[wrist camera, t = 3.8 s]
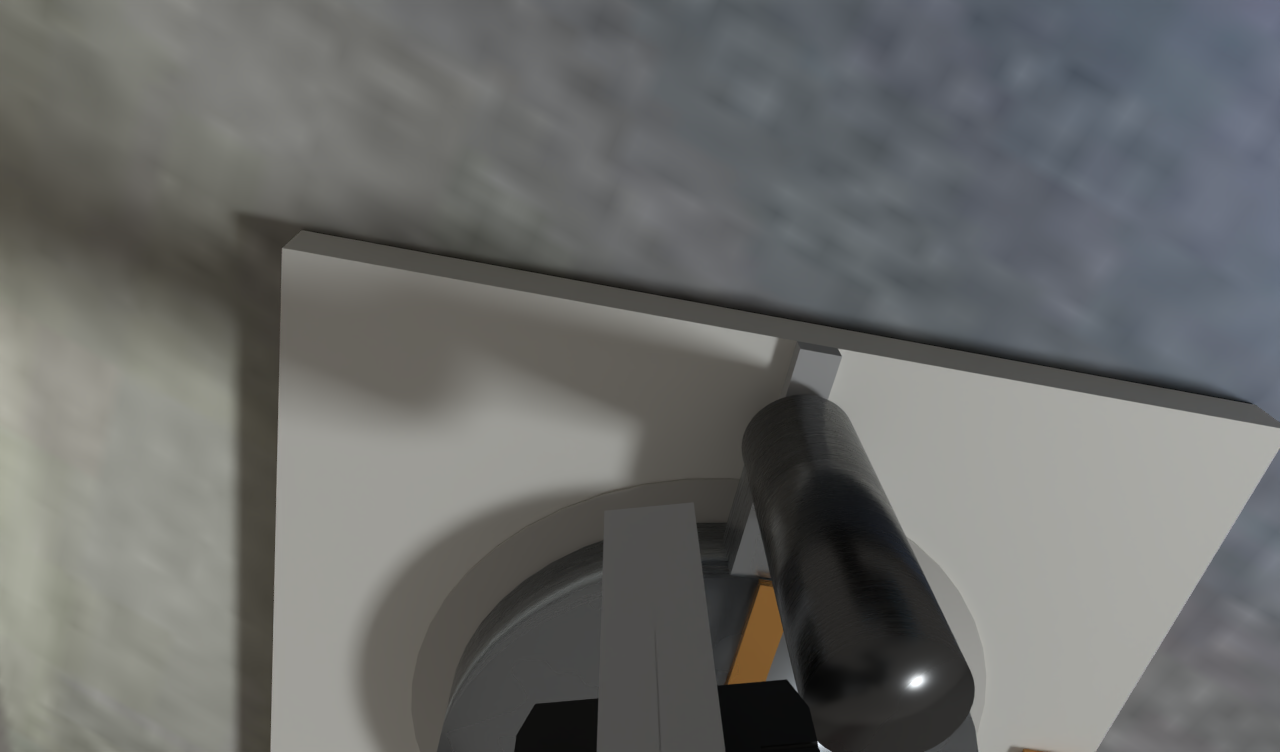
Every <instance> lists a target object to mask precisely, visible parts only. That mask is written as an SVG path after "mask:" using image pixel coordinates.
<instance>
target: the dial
mask: <svg viewBox="0 0 1280 752" xmlns="http://www.w3.org/2000/svg"><path fill="white" fill-rule="evenodd" d="M741 449H742V457H743V461H744V467H743V471H742V474H741V477H740V481H739V484H738V487H737V491H736V494H735V497H734V501H733V504H732V508H731V511H730V514H729V518H728V521H727V522H723V523H696V525H697V532H698V540H699V548H700V556H701V564H702V572H703V579H704V587H705V595H706V603H707V611H708V619H709V627H710V634H711V642H712V650H713V658H714V666H715V674H716V682H717V685H728V684H740V683H751V682H762V681H774V680H785V679H787V680H788V681H789V682H790V684H791V685H792V686H793V687H794V689H795V690H796V691H797V692H798V694H799V695H800V696H801V698H802V699H803V700H804V701H805V703H806V704H807V705H808V706H809V708H810V712H811V716H812V721H813V725H814V729H815V733H816V737H817V741H818V748H819V749H820V752H978V745H977V737H976V730H975V726H974V723H973V720H972V717H971V714H970V710H971V707H972V705H973V701H974V695H975V685H974V679H973V676H972V673H971V671H970V669H969V667H968V664H967V662H966V660H965V658H964V656H963V654H962V652H961V650H960V648H959V646H958V644H957V642H956V639H955V637H954V635H953V633H952V631H951V629H950V627H949V625H948V623H947V621H946V619H945V617H944V614H943V612H942V610H941V608H940V606H939V604H938V602H937V600H936V598H935V596H934V594H933V592H932V589H931V587H930V585H929V583H928V581H927V579H926V577H925V575H924V573H923V571H922V569H921V567H920V564H919V562H918V560H917V558H916V556H915V554H914V552H913V550H912V548H911V546H910V544H909V542H908V539H907V537H906V535H905V533H904V531H903V529H902V527H901V525H900V523H899V521H898V519H897V517H896V514H895V512H894V510H893V508H892V506H891V504H890V502H889V500H888V498H887V496H886V494H885V492H884V489H883V487H882V485H881V483H880V481H879V479H878V477H877V475H876V473H875V471H874V469H873V467H872V464H871V462H870V460H869V458H868V456H867V454H866V452H865V450H864V448H863V446H862V444H861V442H860V439H859V437H858V435H857V433H856V431H855V429H854V427H853V425H852V423H851V421H850V419H849V417H848V416H847V414H846V413H845V412H844V411H843V410H842V409H841V408H840V407H839V406H838V405H836V404H835V403H833V402H831V401H829V400H827V399H825V398H822V397H818V396H814V395H793V396H788V397H784V398H781V399H778V400H776V401H774V402H772V403H770V404H768V405H767V406H765V407H764V408H763V409H761V410H760V411H759V412H758V413H757V414H756V415H755V416H754V417H753V418H752V420H751V421H750V422H749V424H748V426H747V428H746V430H745V432H744V435H743V439H742V448H741ZM603 541H604V540H602V541H600V542H597V543H594V544H591V545H588V546H585V547H583V548H581V549H579V550H577V551H574V552H572V553H570V554H568V555H566V556H564V557H562V558H560V559H558V560H556V561H554V562H552V563H550V564H549V565H547V566H546V567H544V568H543V569H541V570H539V571H538V572H536V573H535V574H533V575H532V576H530V577H529V578H527V579H526V580H524V581H523V582H522V583H521V584H519V585H518V586H517V587H516V588H515V589H514V590H512V591H511V592H510V593H509V594H508V595H506V596H505V597H504V598H503V599H502V600H501V601H500V602H499V603H498V604H497V605H496V606H495V607H494V609H493V610H492V611H491V612H490V613H489V614H488V615H487V616H486V618H485V619H484V620H483V621H482V622H481V624H480V625H479V627H478V628H477V630H476V631H475V633H474V634H473V636H472V638H471V639H470V641H469V642H468V644H467V645H466V647H465V650H464V652H463V654H462V657H461V659H460V661H459V664H458V666H457V668H456V671H455V675H454V680H453V684H452V688H451V692H450V697H449V701H448V705H447V710H446V714H445V718H444V723H443V727H442V731H441V736H440V740H439V744H438V749H437V752H514V749H515V742H516V735H517V733H518V732H519V730H520V728H521V727H522V725H523V723H524V722H525V720H526V718H527V717H528V715H529V713H530V712H531V710H532V708H533V706H534V705H535V704H538V703H550V702H561V701H572V700H584V699H595V698H598V696H599V665H600V634H601V603H602V572H603Z"/></svg>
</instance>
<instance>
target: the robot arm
mask: <svg viewBox="0 0 1280 752" xmlns="http://www.w3.org/2000/svg"><path fill="white" fill-rule="evenodd" d="M514 752H820V749H819V748H818V741H817V737H816V733H815V729H814V725H813V721H812V716H811V712H810V708H809V706H808V705H807V704H806V703H805V701H804V700H803V699H802V698H801V696H800V695H799V694H798V692H797V691H796V690H795V689H794V687H793V686H792V685H791V684H790V682H789V681H788V680H787V679H785V680H774V681H762V682H751V683H740V684H728V685H717V682H716V674H715V666H714V658H713V650H712V642H711V634H710V627H709V619H708V611H707V603H706V595H705V587H704V579H703V572H702V564H701V556H700V548H699V540H698V532H697V525H696V517H695V509H694V502H691V503H681V504H670V505H660V506H649V507H638V508H628V509H617V510H607V511H604V541H603V572H602V603H601V634H600V665H599V696H598V698H595V699H584V700H572V701H561V702H550V703H538V704H535V705H534V706H533V708H532V710H531V712H530V713H529V715H528V717H527V718H526V720H525V722H524V723H523V725H522V727H521V728H520V730H519V732H518V733H517V735H516V742H515V749H514Z"/></svg>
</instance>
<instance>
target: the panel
mask: <svg viewBox="0 0 1280 752" xmlns="http://www.w3.org/2000/svg"><path fill="white" fill-rule="evenodd" d="M793 395H814V396H818V397H822V398H825V399H827V400H829V401H831V402H833V403H835V404H836V405H838V406H839V407H840V408H841V409H842V410H843V411H844V412H845V413H846V414H847V416H848V417H849V419H850V421H851V423H852V425H853V427H854V429H855V431H856V433H857V435H858V437H859V439H860V442H861V444H862V446H863V448H864V450H865V452H866V454H867V456H868V458H869V460H870V462H871V464H872V467H873V469H874V471H875V473H876V475H877V477H878V479H879V481H880V483H881V485H882V487H883V489H884V492H885V494H886V496H887V498H888V500H889V502H890V504H891V506H892V508H893V510H894V512H895V514H896V517H897V519H898V521H899V523H900V525H901V527H902V529H903V531H904V533H905V535H906V537H907V539H908V542H909V544H910V546H911V548H912V550H913V552H914V554H915V556H916V558H917V560H918V562H919V564H920V567H921V569H922V571H923V573H924V575H925V577H926V579H927V581H928V583H929V585H930V587H931V589H932V592H933V594H934V596H935V598H936V600H937V602H938V604H939V606H940V608H941V610H942V612H943V614H944V617H945V619H946V621H947V623H948V625H949V627H950V629H951V631H952V633H953V635H954V637H955V639H956V642H957V644H958V646H959V648H960V650H961V652H962V654H963V656H964V658H965V660H966V662H967V664H968V667H969V669H970V671H971V673H972V676H973V679H974V685H975V695H974V701H973V705H972V707H971V710H970V714H971V717H972V720H973V723H974V726H975V730H976V737H977V745H978V752H1096V750H1097V748H1098V747H1099V745H1100V743H1101V742H1102V740H1103V738H1104V737H1105V735H1106V734H1107V732H1108V730H1109V729H1110V727H1111V725H1112V724H1113V722H1114V720H1115V719H1116V717H1117V715H1118V714H1119V712H1120V710H1121V709H1122V707H1123V706H1124V704H1125V702H1126V701H1127V699H1128V697H1129V696H1130V694H1131V692H1132V691H1133V689H1134V687H1135V686H1136V684H1137V682H1138V681H1139V679H1140V677H1141V676H1142V674H1143V673H1144V671H1145V669H1146V668H1147V666H1148V664H1149V663H1150V661H1151V659H1152V658H1153V656H1154V654H1155V653H1156V651H1157V649H1158V648H1159V646H1160V645H1161V643H1162V641H1163V640H1164V638H1165V636H1166V635H1167V633H1168V631H1169V630H1170V628H1171V626H1172V625H1173V623H1174V621H1175V620H1176V618H1177V616H1178V615H1179V613H1180V612H1181V610H1182V608H1183V607H1184V605H1185V603H1186V602H1187V600H1188V598H1189V597H1190V595H1191V593H1192V592H1193V590H1194V588H1195V587H1196V585H1197V584H1198V582H1199V580H1200V579H1201V577H1202V575H1203V574H1204V572H1205V570H1206V569H1207V567H1208V565H1209V564H1210V562H1211V560H1212V559H1213V557H1214V556H1215V554H1216V552H1217V551H1218V549H1219V547H1220V546H1221V544H1222V542H1223V541H1224V539H1225V537H1226V536H1227V534H1228V532H1229V531H1230V529H1231V527H1232V526H1233V524H1234V523H1235V521H1236V519H1237V518H1238V516H1239V514H1240V513H1241V511H1242V509H1243V508H1244V506H1245V504H1246V503H1247V501H1248V499H1249V498H1250V496H1251V495H1252V493H1253V491H1254V490H1255V488H1256V486H1257V485H1258V483H1259V481H1260V480H1261V478H1262V476H1263V475H1264V473H1265V471H1266V470H1267V468H1268V466H1269V465H1270V463H1271V462H1272V460H1273V458H1274V457H1275V455H1276V453H1277V452H1278V450H1279V448H1280V422H1278V421H1277V420H1276V419H1274V418H1273V417H1272V416H1270V415H1269V414H1267V413H1266V412H1265V411H1263V410H1262V409H1260V408H1259V407H1258V406H1256V405H1253V404H1248V403H1242V402H1237V401H1232V400H1226V399H1221V398H1215V397H1210V396H1204V395H1199V394H1193V393H1188V392H1182V391H1177V390H1172V389H1166V388H1161V387H1155V386H1150V385H1144V384H1139V383H1133V382H1128V381H1122V380H1117V379H1112V378H1106V377H1101V376H1095V375H1090V374H1084V373H1079V372H1073V371H1068V370H1062V369H1057V368H1052V367H1046V366H1041V365H1035V364H1030V363H1024V362H1019V361H1013V360H1008V359H1002V358H997V357H992V356H986V355H981V354H975V353H970V352H964V351H959V350H953V349H948V348H942V347H937V346H931V345H926V344H921V343H915V342H910V341H904V340H899V339H893V338H888V337H882V336H877V335H871V334H866V333H861V332H855V331H850V330H844V329H839V328H833V327H828V326H822V325H817V324H811V323H806V322H801V321H795V320H790V319H784V318H779V317H773V316H768V315H762V314H757V313H751V312H746V311H741V310H735V309H730V308H724V307H719V306H713V305H708V304H702V303H697V302H691V301H686V300H680V299H675V298H670V297H664V296H659V295H653V294H648V293H642V292H637V291H631V290H626V289H620V288H615V287H610V286H604V285H599V284H593V283H588V282H582V281H577V280H571V279H566V278H560V277H555V276H550V275H544V274H539V273H533V272H528V271H522V270H517V269H511V268H506V267H500V266H495V265H490V264H484V263H479V262H473V261H468V260H462V259H457V258H451V257H446V256H440V255H435V254H430V253H424V252H419V251H413V250H408V249H402V248H397V247H391V246H386V245H380V244H375V243H369V242H364V241H359V240H353V239H348V238H342V237H337V236H331V235H326V234H320V233H315V232H309V231H304V230H302V231H301V232H299V233H298V234H297V235H296V236H295V237H294V238H293V239H292V240H290V241H289V242H288V243H287V244H286V245H285V246H284V247H283V248H282V270H281V314H280V358H279V401H278V445H277V489H276V533H275V577H274V620H273V664H272V708H271V752H437V749H438V744H439V740H440V736H441V731H442V727H443V723H444V718H445V714H446V710H447V705H448V701H449V697H450V692H451V688H452V684H453V680H454V675H455V671H456V668H457V666H458V664H459V661H460V659H461V657H462V654H463V652H464V650H465V647H466V645H467V644H468V642H469V641H470V639H471V638H472V636H473V634H474V633H475V631H476V630H477V628H478V627H479V625H480V624H481V622H482V621H483V620H484V619H485V618H486V616H487V615H488V614H489V613H490V612H491V611H492V610H493V609H494V607H495V606H496V605H497V604H498V603H499V602H500V601H501V600H502V599H503V598H504V597H505V596H506V595H508V594H509V593H510V592H511V591H512V590H514V589H515V588H516V587H517V586H518V585H519V584H521V583H522V582H523V581H524V580H526V579H527V578H529V577H530V576H532V575H533V574H535V573H536V572H538V571H539V570H541V569H543V568H544V567H546V566H547V565H549V564H550V563H552V562H554V561H556V560H558V559H560V558H562V557H564V556H566V555H568V554H570V553H572V552H574V551H577V550H579V549H581V548H583V547H585V546H588V545H591V544H594V543H597V542H600V541H602V540H604V511H607V510H617V509H628V508H638V507H649V506H660V505H670V504H681V503H691V502H694V509H695V517H696V523H723V522H727V521H728V518H729V514H730V511H731V508H732V504H733V501H734V497H735V494H736V491H737V487H738V484H739V481H740V477H741V474H742V471H743V467H744V461H743V457H742V449H741V448H742V439H743V435H744V432H745V430H746V428H747V426H748V424H749V422H750V421H751V420H752V418H753V417H754V416H755V415H756V414H757V413H758V412H759V411H760V410H761V409H763V408H764V407H765V406H767V405H768V404H770V403H772V402H774V401H776V400H778V399H781V398H784V397H788V396H793Z"/></svg>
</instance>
